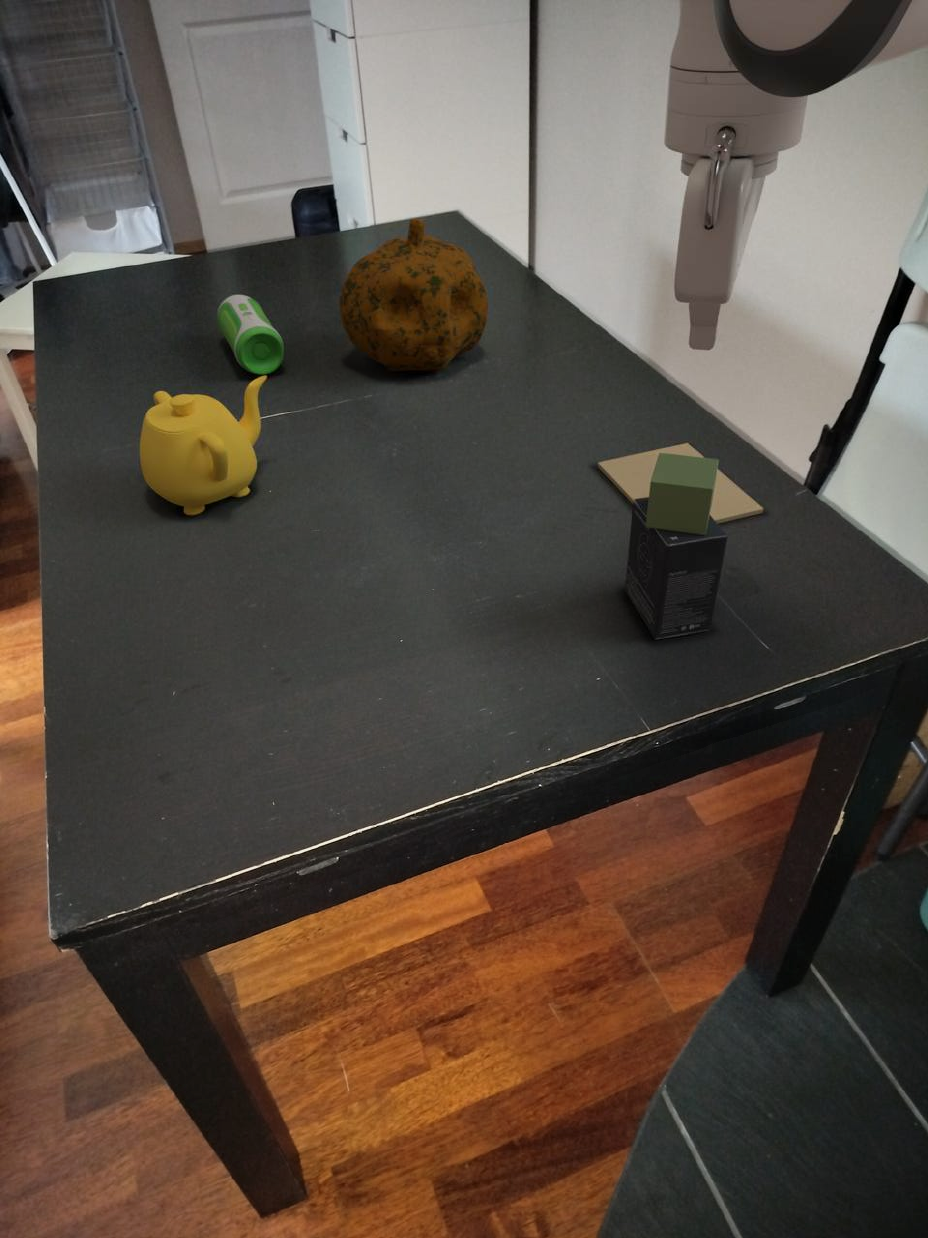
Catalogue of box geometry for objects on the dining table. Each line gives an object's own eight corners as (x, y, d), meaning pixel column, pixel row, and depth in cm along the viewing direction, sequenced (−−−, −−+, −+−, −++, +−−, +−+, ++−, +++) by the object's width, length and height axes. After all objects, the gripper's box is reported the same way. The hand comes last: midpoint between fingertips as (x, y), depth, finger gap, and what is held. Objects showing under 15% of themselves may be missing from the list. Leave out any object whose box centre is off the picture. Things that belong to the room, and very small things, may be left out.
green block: (711, 504, 75) (719, 458, 72) (705, 535, 72) (713, 489, 69) (654, 496, 77) (659, 452, 74) (645, 527, 73) (650, 481, 70)
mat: (762, 513, 93) (763, 508, 92) (663, 537, 90) (664, 532, 90) (687, 446, 105) (687, 442, 104) (597, 466, 102) (597, 462, 102)
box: (712, 631, 78) (730, 535, 72) (653, 641, 78) (666, 545, 71) (677, 580, 84) (690, 487, 78) (622, 590, 84) (631, 497, 77)
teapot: (252, 524, 96) (228, 428, 88) (131, 521, 97) (97, 427, 90) (285, 461, 106) (266, 370, 99) (175, 460, 108) (148, 370, 100)
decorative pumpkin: (335, 336, 134) (328, 199, 121) (465, 330, 139) (472, 197, 126) (351, 395, 120) (345, 246, 107) (496, 386, 124) (508, 242, 111)
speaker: (291, 373, 127) (282, 323, 122) (242, 384, 125) (231, 333, 120) (265, 333, 139) (256, 286, 134) (220, 342, 137) (209, 294, 132)
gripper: (774, 149, 48) (740, 382, 57) (792, 85, 63) (763, 279, 71) (660, 149, 50) (644, 375, 59) (704, 87, 64) (686, 276, 73)
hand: (709, 321), depth 65 cm, fingers open, 8 cm apart
